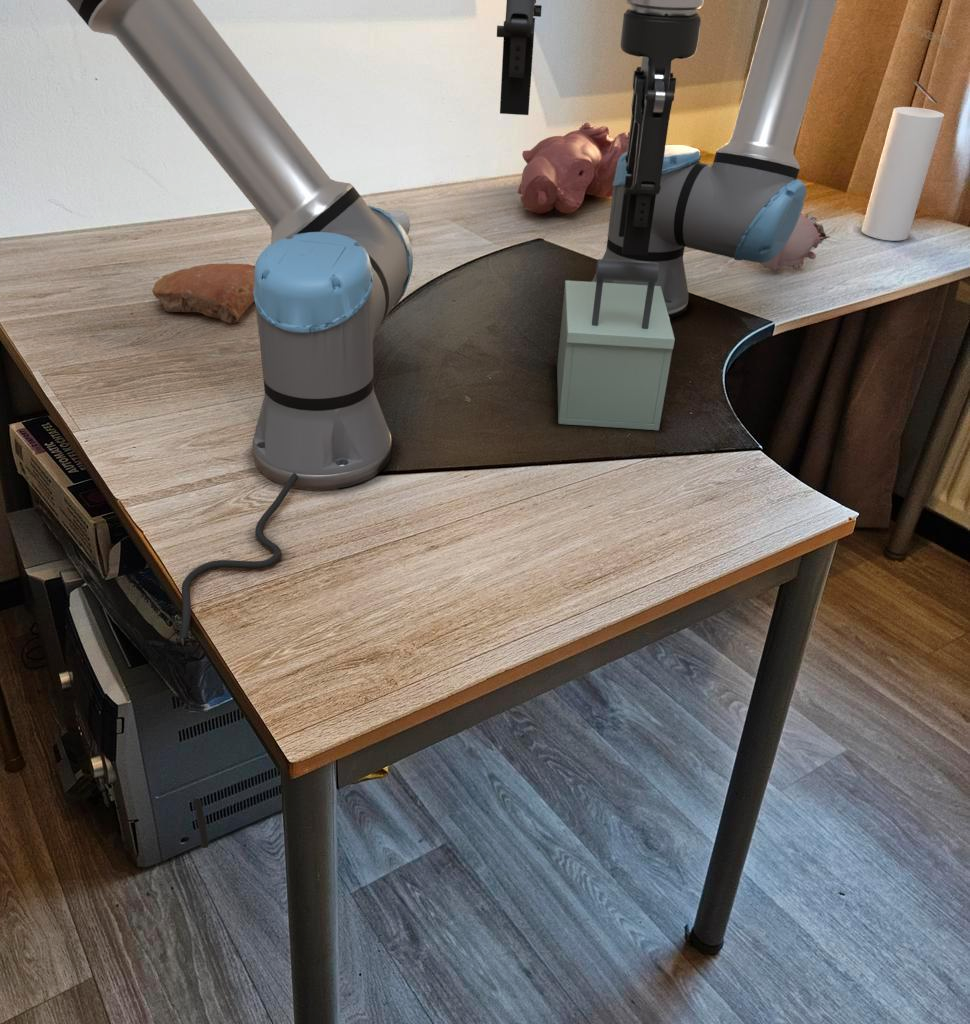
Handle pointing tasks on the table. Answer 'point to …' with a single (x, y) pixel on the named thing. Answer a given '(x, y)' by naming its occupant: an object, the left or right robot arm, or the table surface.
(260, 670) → the table surface
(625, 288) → the lid
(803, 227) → the toy
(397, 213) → the electric motor
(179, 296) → the ceramic shard
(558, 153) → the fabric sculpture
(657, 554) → the table surface
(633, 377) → the chest
